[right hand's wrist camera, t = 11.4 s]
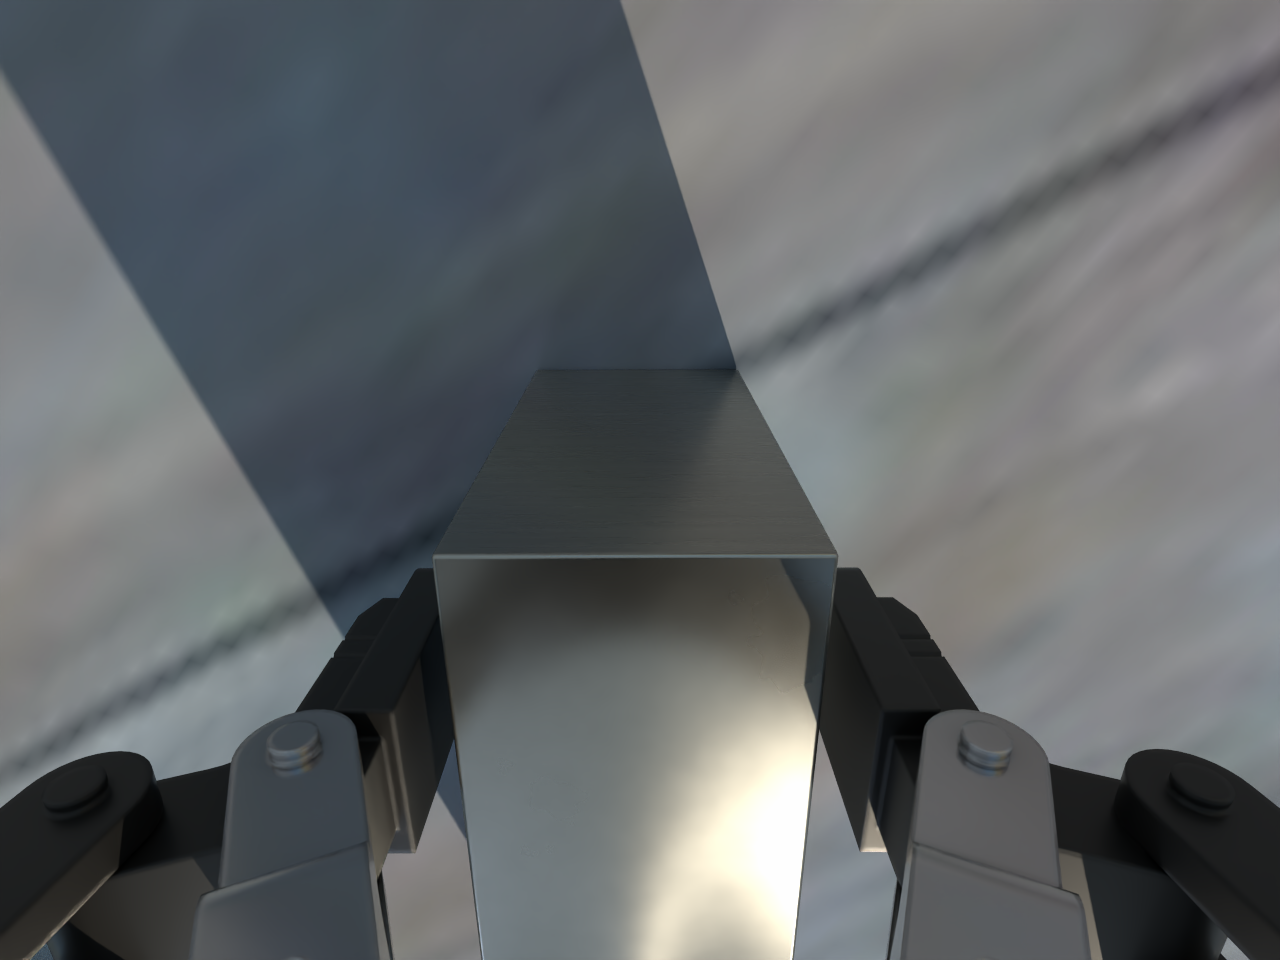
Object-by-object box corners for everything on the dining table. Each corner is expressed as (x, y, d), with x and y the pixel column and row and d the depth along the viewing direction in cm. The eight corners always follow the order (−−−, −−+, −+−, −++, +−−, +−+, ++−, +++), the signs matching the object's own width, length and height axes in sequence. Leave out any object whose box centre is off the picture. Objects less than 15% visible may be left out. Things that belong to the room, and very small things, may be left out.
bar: (535, 369, 17) (429, 554, 8) (738, 369, 17) (840, 553, 8) (573, 1017, 25) (539, 1437, 17) (707, 1017, 25) (741, 1436, 17)
